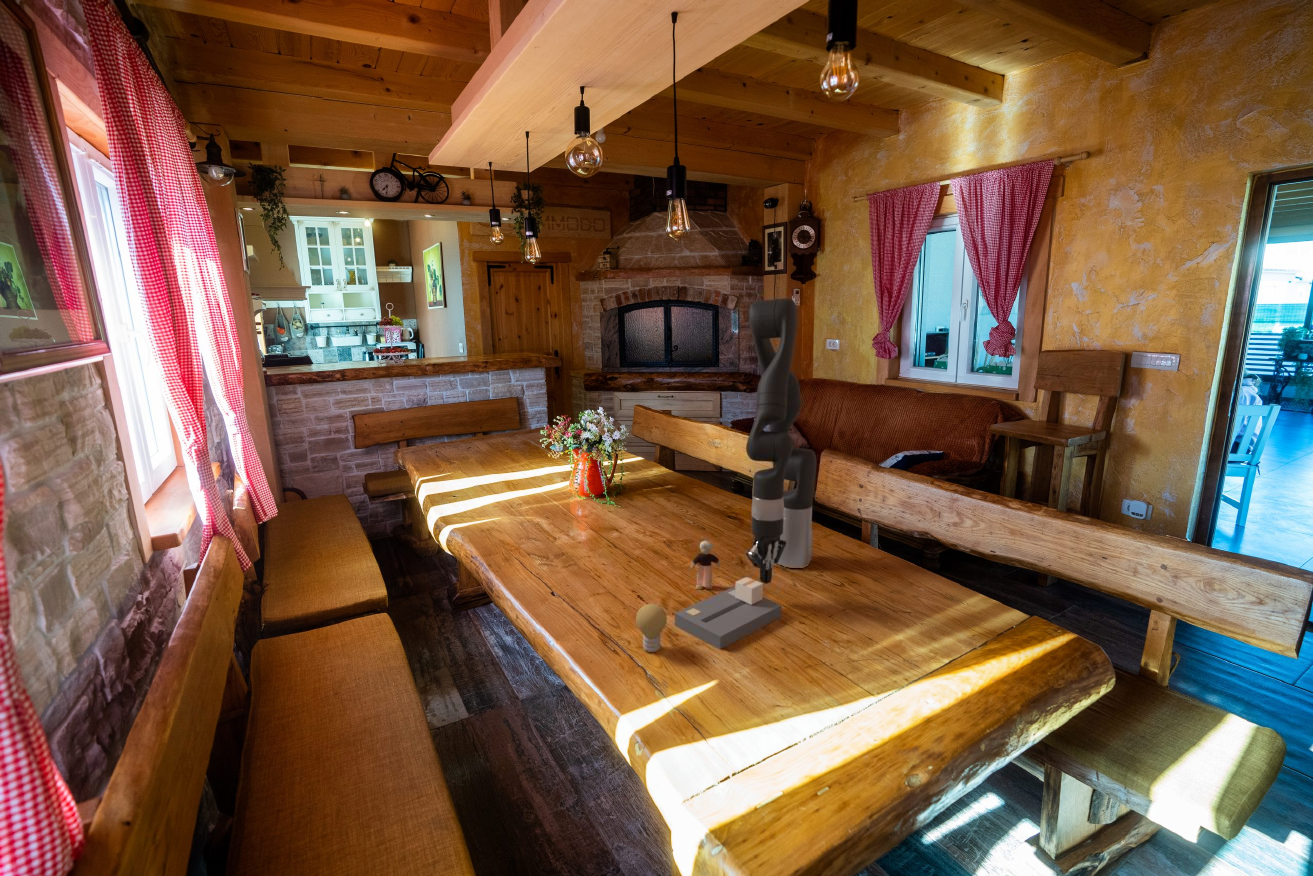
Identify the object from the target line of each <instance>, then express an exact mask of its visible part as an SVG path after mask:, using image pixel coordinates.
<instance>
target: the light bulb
mask: <svg viewBox="0 0 1313 876" xmlns="http://www.w3.org/2000/svg"><path fill="white" fill-rule="evenodd" d="M635 619H636V622H635V623H636V626H637V627H638V629H639V631H640V632H641V633H642V634H643V635H642V648H643V649H644V650H645V651H646V652H649V653H655V652H657V651H658V650H660V649H661V638H662V637H661V633H662V632H663V630H664V629H665V628H666V625H667V621H668V617H667V613H666V611H665V609H664V608H663V607H662V606H660V605H658V604H656V603H648V604H645V605H642V606H641V607H640V608H639V610H638V611H637V613H636V617H635Z"/></svg>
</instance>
